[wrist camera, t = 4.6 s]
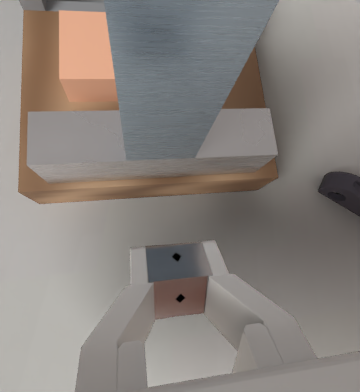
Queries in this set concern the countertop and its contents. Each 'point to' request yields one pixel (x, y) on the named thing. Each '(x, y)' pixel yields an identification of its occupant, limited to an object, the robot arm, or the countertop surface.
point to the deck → (58, 101)
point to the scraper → (164, 98)
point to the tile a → (86, 57)
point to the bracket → (342, 190)
